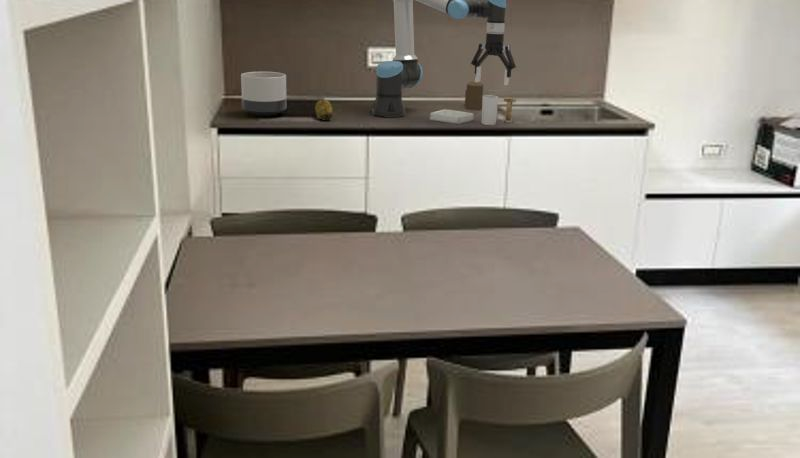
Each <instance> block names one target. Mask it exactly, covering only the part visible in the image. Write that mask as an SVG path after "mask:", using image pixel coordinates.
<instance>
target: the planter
mask: <svg viewBox="0 0 800 458" xmlns="http://www.w3.org/2000/svg"><path fill="white" fill-rule="evenodd" d="M240 83H241V109H242V110H244V111H246V112H247V111H248V113H250V114H251V115H253V116H256V117H261V116H268V117H272V116H271V115H274V116H275V115H279V114H280V113H281V112H282V111H285V110H287V74H285V73H282V72H278V71H277V72H275V71H249V72H244V73H243V72H242V73H241V74H240Z"/></svg>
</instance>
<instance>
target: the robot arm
mask: <svg viewBox="0 0 800 458" xmlns="http://www.w3.org/2000/svg"><path fill="white" fill-rule="evenodd" d="M392 1H393V17H394V19H393V21H394V41H395V44H394V45H395V47H394V48H395V56H394V57H393V58H392V60H388V61H382V62H379V63H378V64H377V66H376V72H375V74H376V75H375V76H376V80H375V81H376V82H375V83H376V85H375V86H376V88H375V100H374V102H373V104H372V105H373V106H372V108H371V115H372V114H373V115H372V116H374V115H378V116H377V117H379V116H387V117H386V118H401V117H400V116H402V117H404V115H405V116H406V109H405V105H404V102H403V97H402V96H403V90H405V89H411V88H413V87H416V86H417V85H419V84H420V83H421V81H422V80H423V79H422V78H423V75H424V74H423V73H424V71H423V68H422V66H421V64H420V63H419V58H418V57H417V55H416V54H415V35H414V34H415V33H414V32H415V31H414V30H415V29H414V3H413V2H414V0H392ZM415 1H416V2H418V3H421V4H423V5H426V6H427V7H430V8H433V9H435V10H438V11H440V12H443V13H446V14H448V15H449V17H451V18H452V19H455V20H461V19H468V18H469V19H471V18H478V19H479V18H480V19H481V18H482V19H486V32H487V33H486V34H485V43H482V42H481V43H479V44H478V48H477V51H476V53H475V55H474V57H473V58H472V60H471V61H470V62H471V63H470V64H471V65H472V66H473V67H474V74H475V78H476V82H481V79H482V78H481V75H482V66H481V64H483V63H484V61H485V60H486V58H487V57H488V56H494V57H495V56H496V57H498V58H500V61H501V62H502V64H503V65H504V67H505V70H504V77H503V78H504V81H503V85H504V86H508V85H509V82H510V81H509V80H510V78H511V76H512V70H513V69H515V68H516V67H517V66H516V63H515V60H514V58H513V55H512V51H511V46H510V45H504V40H505V39H504V38H505V34H504V33H505V23H506V12H507V11H506V9H507V0H415ZM484 49H485V51H484ZM483 51H484V53H483ZM503 51H504V52H503ZM482 53H483V55H481V54H482ZM480 56H481V57H480Z"/></svg>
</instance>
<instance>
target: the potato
mask: <svg viewBox="0 0 800 458" xmlns="http://www.w3.org/2000/svg"><path fill="white" fill-rule="evenodd" d="M314 109H315V110H314V111H315V113H316V118H318V119H319V120H320V119H324V120H323V121H325V120H328V121H329V120H331V119H332V118H333V115H334V114H333V113H334V111H333V109H334V108H333V105H332V104H331V103H330V101H329V100H328V99H319V100H317V102H316V103H315V107H314Z"/></svg>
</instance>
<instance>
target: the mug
mask: <svg viewBox="0 0 800 458" xmlns="http://www.w3.org/2000/svg"><path fill="white" fill-rule="evenodd" d="M498 101H499V96H497V95H490V94H488V95H487V94H486V95H484V94H483V98H482V109H481V124H482V125H485V126H495V125H496V123H497V116H498V115H497V114H498V105H499V104H498V103H499V102H498Z"/></svg>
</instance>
